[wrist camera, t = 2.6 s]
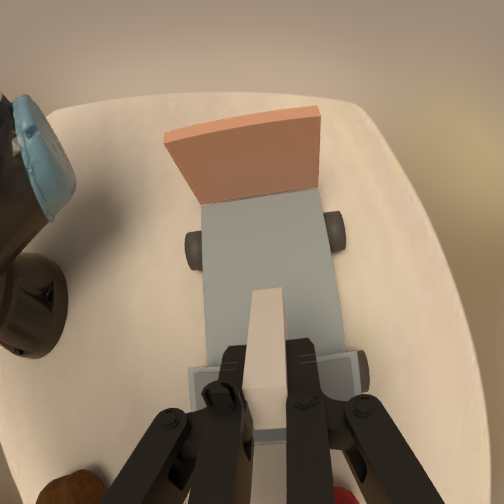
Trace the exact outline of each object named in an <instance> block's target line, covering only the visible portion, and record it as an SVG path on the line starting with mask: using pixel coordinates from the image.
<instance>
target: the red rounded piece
mask: <svg viewBox="0 0 504 504" xmlns="http://www.w3.org/2000/svg"><path fill="white" fill-rule="evenodd" d="M334 498H335V504H359V502H358V500H357V499H356V498H355V496H354V495H353V494H352V492H350V491H348V490H346V489H344V488H341V487H334Z"/></svg>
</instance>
